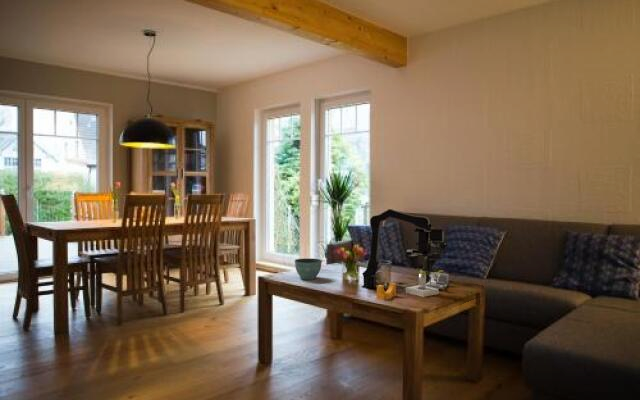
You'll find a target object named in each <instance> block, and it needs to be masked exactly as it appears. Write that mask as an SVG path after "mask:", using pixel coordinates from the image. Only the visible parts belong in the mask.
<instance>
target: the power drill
mask: <svg viewBox="0 0 640 400" xmlns="http://www.w3.org/2000/svg"><path fill="white" fill-rule="evenodd" d="M429 243H430V244H431V246H433V247H435V248H436V252H435V253H440V254H441V252H442V251H443V250H447V249H446V248H450V244H449V243H447V241H446V240H444V241H443V242H435V241H432V240H431V239H430V238H429ZM427 259H428V257H427V256H424V260H423V264H422V268H421V269H420V270H419V274H420V273H422V274H426V282H429V279H430V277H429V275H431V272H432V273H441V274H446V272H444V270H442V269H436V268H435V269H433V268H432V269H431V272H429V271H428V264H427Z"/></svg>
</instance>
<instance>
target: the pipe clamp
mask: <svg viewBox="0 0 640 400" xmlns="http://www.w3.org/2000/svg"><path fill="white" fill-rule="evenodd" d="M376 286H377V288H376V299H378V300H381V301H386V300H389V299H392V298H393V297H395V296H396V295H397V292H396V291H397V290H396V283H390V284H389V288H387V289H386V291H385V289H384V288H385V287H384V285H376Z"/></svg>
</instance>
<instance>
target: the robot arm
mask: <svg viewBox="0 0 640 400" xmlns="http://www.w3.org/2000/svg"><path fill="white" fill-rule="evenodd" d="M390 218H393V219H397V220H399V221H400V220H401V221H405V222H408V223H410V224H412V225H414V226H415V227H416V228H415V229H414V230H413V232H414V233H417V241H416V242H415V245H417V248H416V249H415V248H410V249H407V250H406V252H405V254H406V256H408V259H409V260H410V261H411V264H412V266H413V268H414V270H417V269H418V258H419V257H420V256H421V257H426V256H427V257H428V259H427V264H428V271H429V272H431V269H432V270H433V266H434V264H435V263H436V261H438V260H440V259H441V256H442V255H441V252H440V253H435V252H436V248H435V247H433V246H431V244H430V243H429V239H431V240H432V241H435V242H443V241H445V233H444V228H435V227H434V226H432V223H431V220H430V219H429V217H428V216H423V215H422V216H421V215H412V214H409V213H405V212H402V211H398V210H394V209H391V208H389V209H386V210H385V211H383V212H381V213H380V214H376V215H373V216H372V217H370V220H369V223H370V229H371V239H370V241H371V242H370V243H371V244H370V256H369V259H368V263H367V266H366V269H365V270H364V271H363V272H362V277H363V284H362V285H361V288H365V289H369V290H371V289H377V286H378V285H377V276H376V275H377V273H378V272H380V270H381V269H382V263H383V262H382V260H380V259H379V251H380V237H381V230H382V228H383V225H384V221H386V220H388V219H390Z"/></svg>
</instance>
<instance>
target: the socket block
mask: <svg viewBox="0 0 640 400" xmlns="http://www.w3.org/2000/svg"><path fill="white" fill-rule="evenodd" d="M385 283H386V288H387V289H388V288H389V284H390V283H396V291H399V292H406V287H412V286H417V285H419V283H414V282H410V281H406V280H397V281H390V282H385Z"/></svg>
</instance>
